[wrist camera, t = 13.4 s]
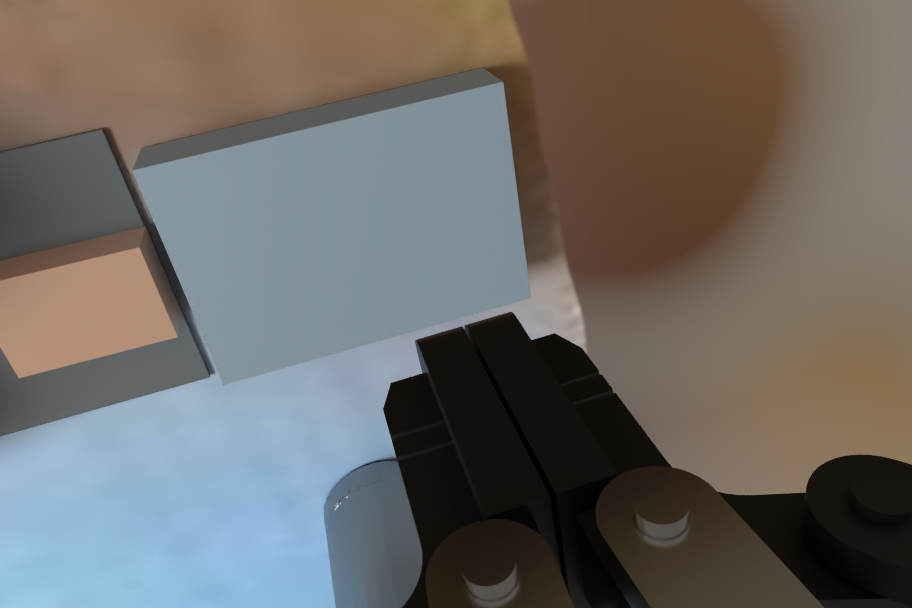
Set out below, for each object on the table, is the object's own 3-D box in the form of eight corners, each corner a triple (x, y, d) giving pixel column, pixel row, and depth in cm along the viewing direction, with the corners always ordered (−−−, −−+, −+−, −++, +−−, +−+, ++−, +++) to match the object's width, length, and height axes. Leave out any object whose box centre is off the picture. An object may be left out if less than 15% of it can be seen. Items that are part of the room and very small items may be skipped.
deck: (482, 67, 42) (503, 81, 39) (511, 270, 49) (530, 297, 46) (141, 147, 40) (132, 170, 36) (225, 350, 47) (223, 384, 43)
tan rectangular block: (145, 226, 41) (139, 247, 39) (181, 312, 44) (177, 337, 42) (-17, 264, 40) (-34, 288, 38) (31, 350, 43) (18, 378, 41)
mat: (102, 128, 39) (101, 129, 38) (209, 374, 47) (209, 377, 47) (-174, 191, 37) (-177, 193, 36) (-9, 436, 46) (-10, 438, 45)
